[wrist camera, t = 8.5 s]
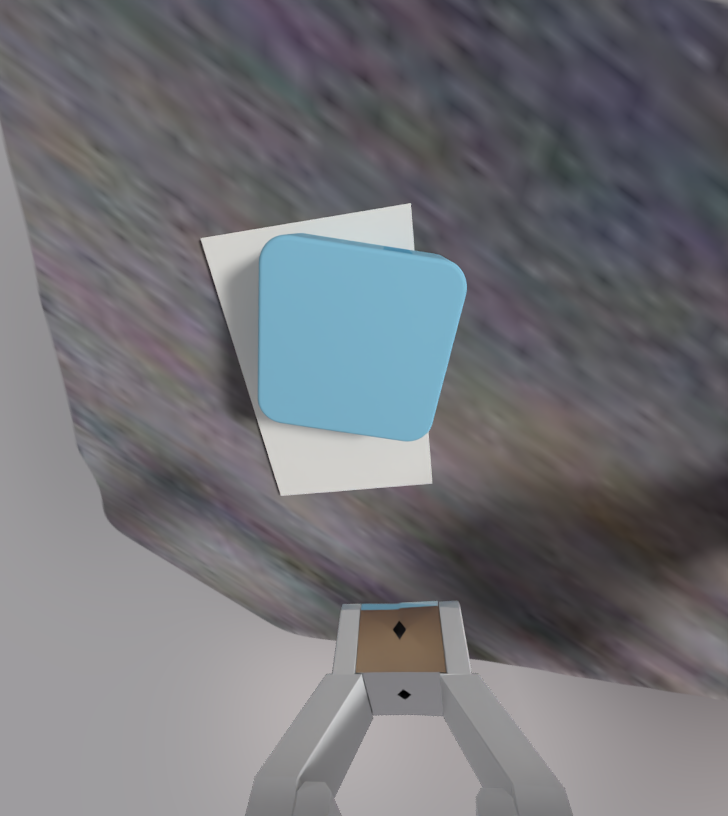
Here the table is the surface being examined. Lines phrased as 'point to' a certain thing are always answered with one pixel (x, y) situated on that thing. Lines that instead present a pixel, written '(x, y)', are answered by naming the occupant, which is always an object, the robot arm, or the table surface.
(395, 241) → the mat
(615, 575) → the table surface
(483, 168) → the table surface
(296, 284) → the data package
